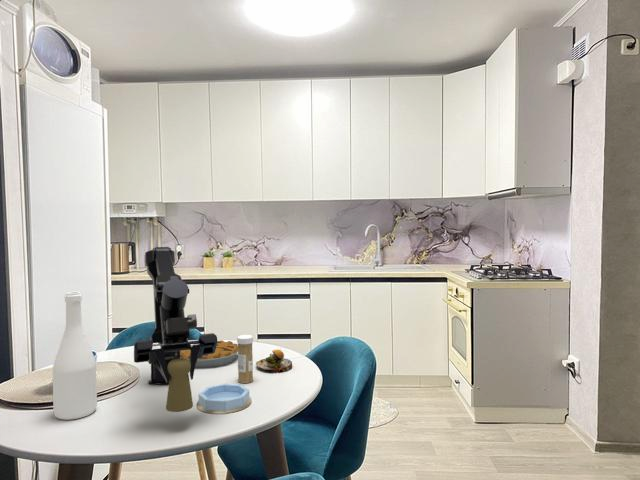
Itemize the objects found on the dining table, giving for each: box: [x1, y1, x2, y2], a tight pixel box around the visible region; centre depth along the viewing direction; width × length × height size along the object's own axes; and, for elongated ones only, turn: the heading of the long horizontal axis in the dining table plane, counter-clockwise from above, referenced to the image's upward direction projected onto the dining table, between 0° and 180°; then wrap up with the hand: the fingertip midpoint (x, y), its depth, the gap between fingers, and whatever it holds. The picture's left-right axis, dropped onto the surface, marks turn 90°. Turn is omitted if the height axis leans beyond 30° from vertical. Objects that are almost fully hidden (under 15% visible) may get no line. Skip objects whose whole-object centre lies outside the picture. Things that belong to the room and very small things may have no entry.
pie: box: [180, 339, 238, 369], centre depth 160 cm, size 22×22×5 cm
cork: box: [165, 358, 194, 413], centre depth 107 cm, size 6×6×11 cm
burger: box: [255, 348, 293, 374], centre depth 151 cm, size 12×12×8 cm
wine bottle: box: [52, 291, 98, 421], centre depth 115 cm, size 10×10×30 cm
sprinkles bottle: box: [236, 334, 254, 384], centre depth 138 cm, size 5×5×14 cm
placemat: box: [196, 395, 252, 415], centre depth 122 cm, size 14×14×1 cm
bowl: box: [198, 383, 250, 411], centre depth 122 cm, size 12×12×2 cm
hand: (180, 380), depth 106 cm, fingers closed on cork, 5 cm apart
